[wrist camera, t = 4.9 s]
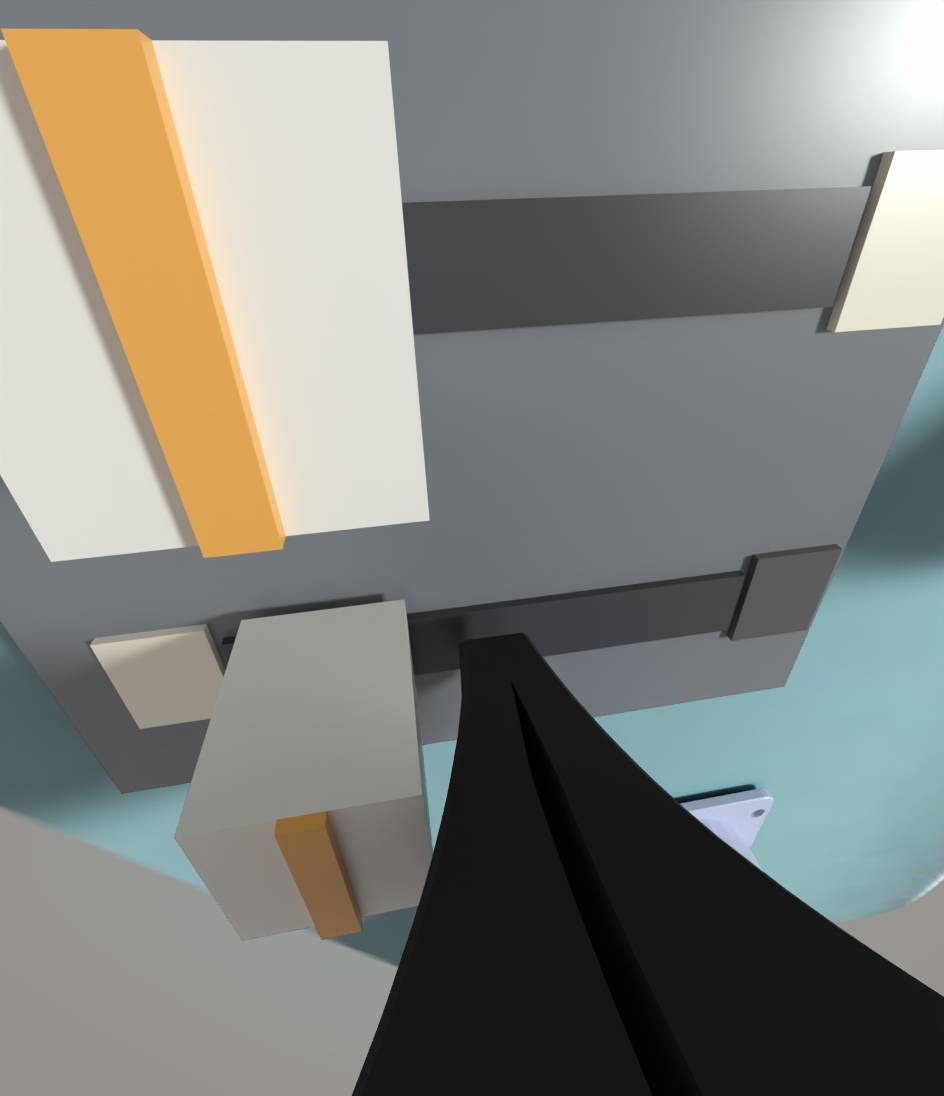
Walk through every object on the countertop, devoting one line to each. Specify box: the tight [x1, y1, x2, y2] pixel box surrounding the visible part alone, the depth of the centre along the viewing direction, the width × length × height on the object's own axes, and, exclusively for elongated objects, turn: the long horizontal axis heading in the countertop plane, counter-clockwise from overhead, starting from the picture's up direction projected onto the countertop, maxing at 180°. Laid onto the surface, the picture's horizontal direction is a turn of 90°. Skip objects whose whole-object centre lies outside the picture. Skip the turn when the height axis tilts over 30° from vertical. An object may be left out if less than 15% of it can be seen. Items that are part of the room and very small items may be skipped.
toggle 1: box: [0, 29, 430, 562], centre depth 5 cm, size 3×3×4 cm
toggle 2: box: [174, 600, 433, 941], centre depth 9 cm, size 3×3×4 cm
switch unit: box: [0, 0, 944, 794], centre depth 10 cm, size 14×17×1 cm
